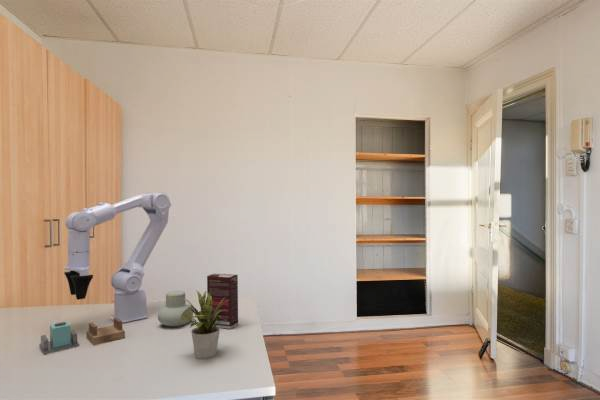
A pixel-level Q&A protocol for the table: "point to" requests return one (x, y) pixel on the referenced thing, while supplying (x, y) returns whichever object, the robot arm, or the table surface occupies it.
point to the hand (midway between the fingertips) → (77, 296)
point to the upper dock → (105, 332)
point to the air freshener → (175, 310)
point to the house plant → (204, 327)
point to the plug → (60, 334)
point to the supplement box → (224, 298)
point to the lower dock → (48, 348)
